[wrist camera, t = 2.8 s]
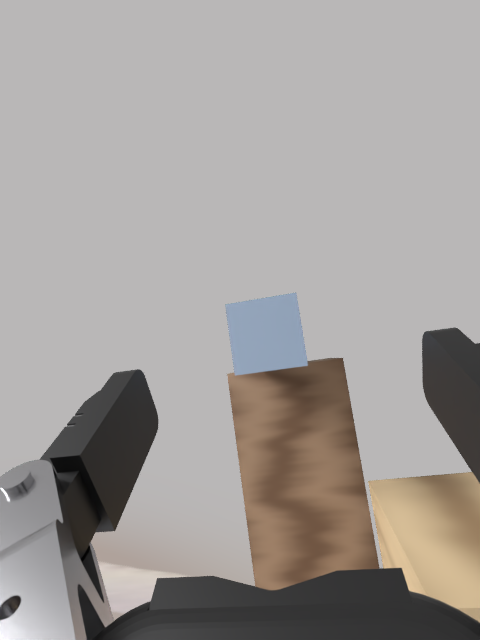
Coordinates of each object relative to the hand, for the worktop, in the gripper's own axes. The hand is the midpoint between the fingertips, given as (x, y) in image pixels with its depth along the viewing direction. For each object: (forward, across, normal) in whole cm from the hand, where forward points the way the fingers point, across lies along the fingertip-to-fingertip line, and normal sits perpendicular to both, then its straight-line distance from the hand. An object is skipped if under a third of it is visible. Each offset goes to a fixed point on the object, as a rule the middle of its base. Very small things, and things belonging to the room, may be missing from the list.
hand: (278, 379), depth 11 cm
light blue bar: (+21, +1, +12) cm, 24 cm away
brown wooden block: (+11, 0, +43) cm, 44 cm away
